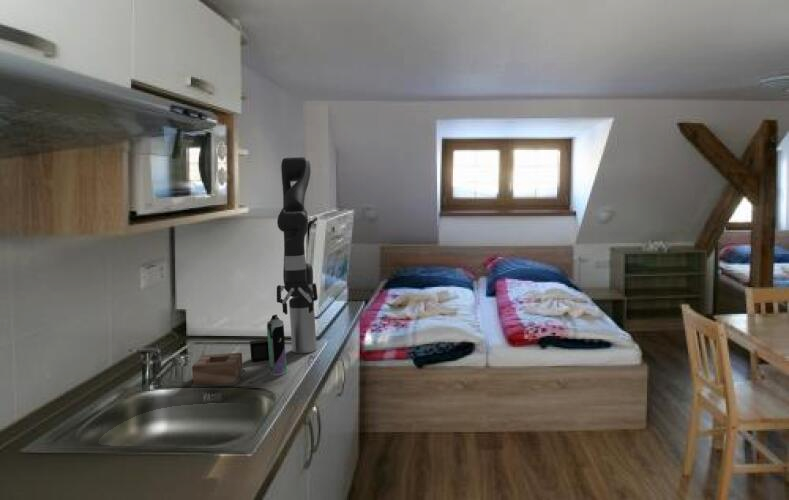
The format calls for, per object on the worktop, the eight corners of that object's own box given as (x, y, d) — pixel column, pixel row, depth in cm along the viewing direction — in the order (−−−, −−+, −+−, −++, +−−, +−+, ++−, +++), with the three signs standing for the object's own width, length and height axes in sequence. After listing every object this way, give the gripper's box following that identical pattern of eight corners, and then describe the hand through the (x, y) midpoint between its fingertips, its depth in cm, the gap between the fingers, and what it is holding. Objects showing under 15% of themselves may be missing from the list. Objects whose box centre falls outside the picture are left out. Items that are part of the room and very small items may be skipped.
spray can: (283, 376, 202) (279, 316, 200) (267, 375, 203) (263, 316, 201) (289, 370, 207) (285, 313, 205) (274, 370, 208) (270, 313, 206)
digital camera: (252, 363, 218) (251, 344, 218) (250, 359, 223) (249, 340, 223) (281, 359, 222) (280, 340, 221) (279, 355, 227) (278, 337, 226)
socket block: (203, 374, 208) (201, 354, 207) (244, 371, 208) (243, 352, 208) (191, 387, 194) (190, 366, 193) (236, 385, 195) (234, 364, 194)
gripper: (316, 266, 220) (319, 310, 221) (276, 268, 219) (279, 312, 220) (314, 268, 212) (317, 314, 213) (273, 270, 212) (276, 316, 213)
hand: (298, 313), depth 217 cm, fingers open, 8 cm apart
